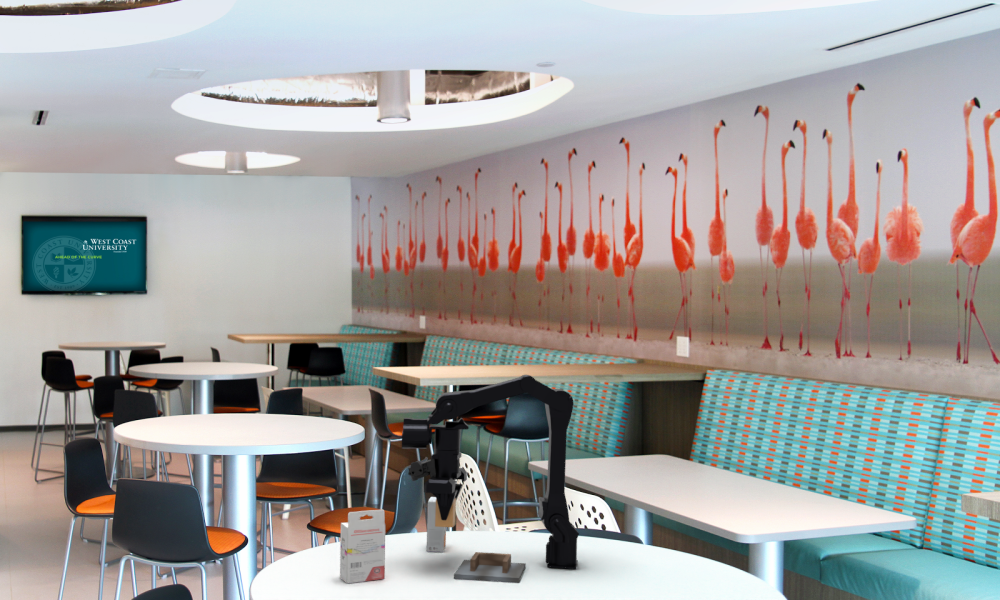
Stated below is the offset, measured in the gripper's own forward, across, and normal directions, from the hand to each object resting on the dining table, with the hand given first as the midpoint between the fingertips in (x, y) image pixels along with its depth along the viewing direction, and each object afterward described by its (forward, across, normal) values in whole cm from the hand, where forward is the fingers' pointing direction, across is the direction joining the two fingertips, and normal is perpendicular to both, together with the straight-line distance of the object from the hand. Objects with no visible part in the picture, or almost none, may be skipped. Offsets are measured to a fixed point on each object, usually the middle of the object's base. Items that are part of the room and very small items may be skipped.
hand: (445, 518), depth 202 cm
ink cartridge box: (+11, +14, -15) cm, 23 cm away
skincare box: (+11, -14, -5) cm, 18 cm away
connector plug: (+2, 0, 0) cm, 2 cm away
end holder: (+10, +4, +11) cm, 16 cm away
